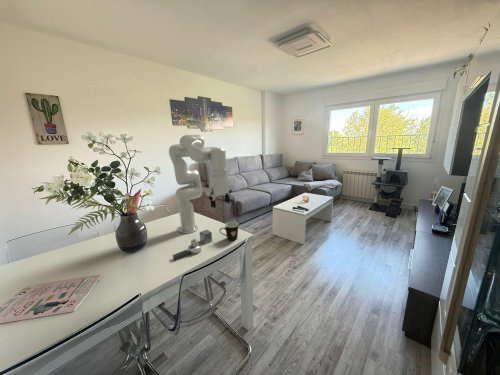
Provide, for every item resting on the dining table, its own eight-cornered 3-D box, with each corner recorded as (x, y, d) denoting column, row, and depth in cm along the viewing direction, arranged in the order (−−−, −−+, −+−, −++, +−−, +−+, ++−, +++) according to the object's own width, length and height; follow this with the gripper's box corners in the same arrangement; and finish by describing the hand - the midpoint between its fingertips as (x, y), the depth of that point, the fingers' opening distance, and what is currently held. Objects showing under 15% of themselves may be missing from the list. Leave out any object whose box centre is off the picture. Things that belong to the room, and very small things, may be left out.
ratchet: (171, 256, 114) (170, 245, 112) (197, 246, 124) (196, 236, 122) (176, 262, 109) (175, 250, 107) (203, 251, 119) (202, 240, 117)
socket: (200, 240, 131) (199, 232, 129) (207, 238, 134) (207, 229, 133) (204, 244, 127) (203, 235, 126) (212, 241, 130) (211, 232, 129)
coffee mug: (239, 235, 137) (239, 221, 134) (237, 242, 129) (237, 227, 126) (222, 235, 138) (222, 221, 136) (219, 241, 130) (218, 227, 127)
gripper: (226, 169, 112) (227, 199, 117) (200, 174, 100) (202, 207, 104) (236, 171, 108) (237, 202, 112) (210, 176, 95) (212, 211, 99)
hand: (220, 204), depth 108 cm, fingers open, 9 cm apart
